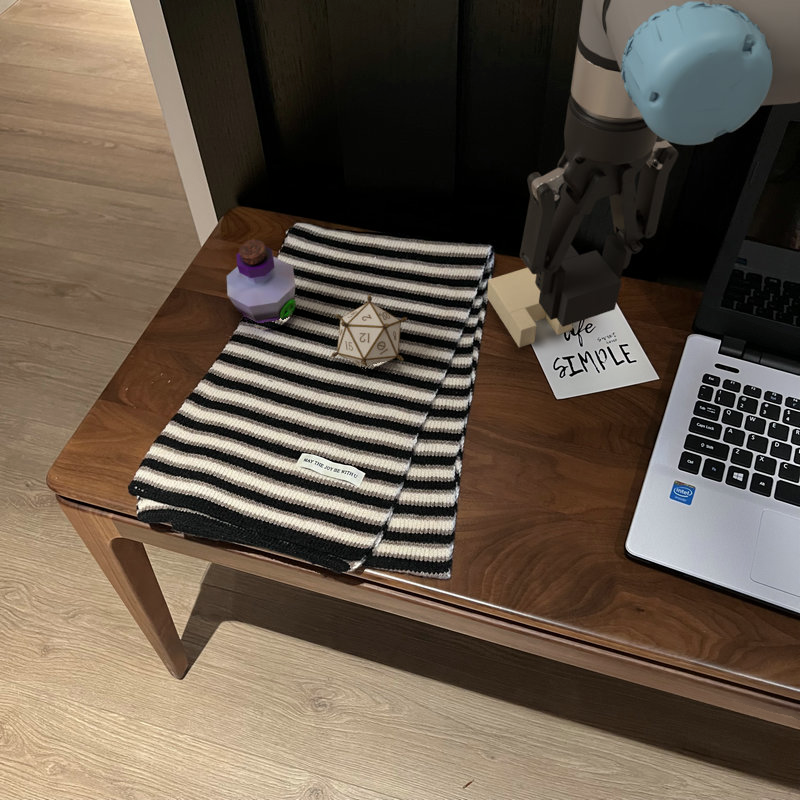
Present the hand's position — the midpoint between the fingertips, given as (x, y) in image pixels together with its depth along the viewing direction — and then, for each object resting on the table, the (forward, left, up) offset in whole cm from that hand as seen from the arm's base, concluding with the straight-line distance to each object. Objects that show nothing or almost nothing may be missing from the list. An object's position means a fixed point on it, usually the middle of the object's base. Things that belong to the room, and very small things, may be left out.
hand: (577, 300), depth 80 cm
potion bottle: (+22, +29, -13) cm, 39 cm away
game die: (+11, +20, -13) cm, 26 cm away
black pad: (+1, 0, 0) cm, 1 cm away
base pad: (+9, 0, -12) cm, 16 cm away
